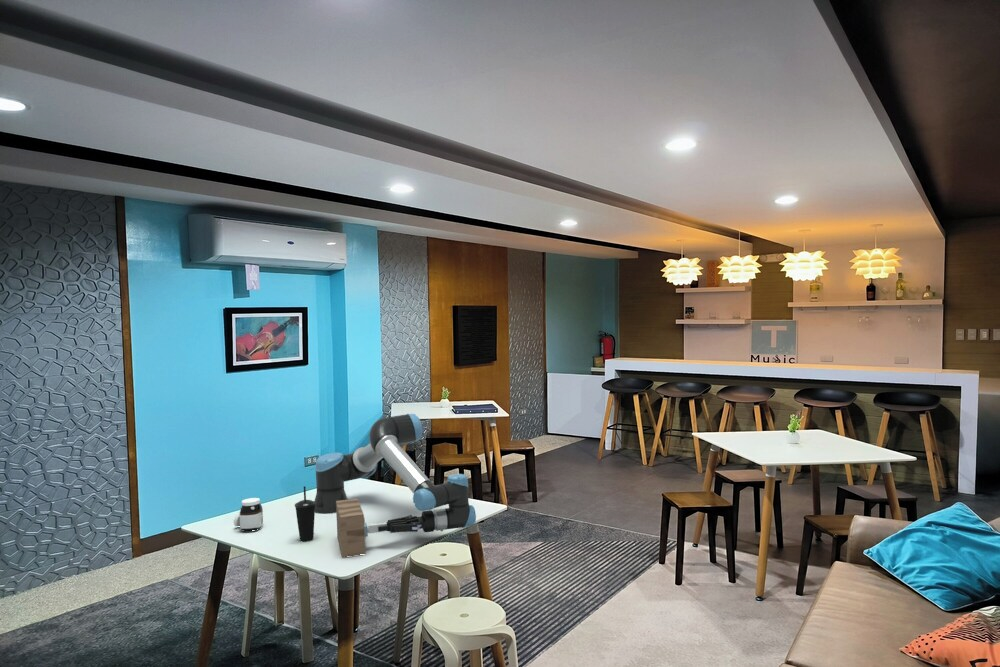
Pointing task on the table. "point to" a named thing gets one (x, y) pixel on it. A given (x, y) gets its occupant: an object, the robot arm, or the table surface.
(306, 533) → the drinking cup
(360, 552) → the brown wooden block
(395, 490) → the table surface
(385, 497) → the table surface
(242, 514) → the spread jar
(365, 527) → the slate key
